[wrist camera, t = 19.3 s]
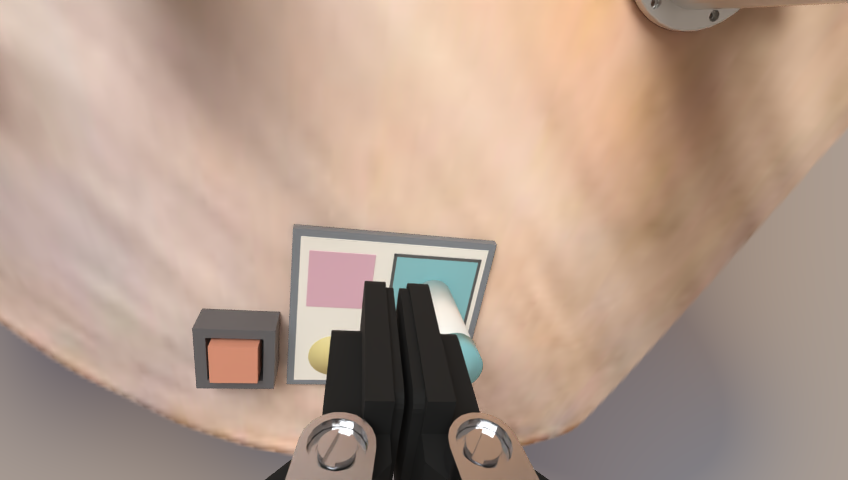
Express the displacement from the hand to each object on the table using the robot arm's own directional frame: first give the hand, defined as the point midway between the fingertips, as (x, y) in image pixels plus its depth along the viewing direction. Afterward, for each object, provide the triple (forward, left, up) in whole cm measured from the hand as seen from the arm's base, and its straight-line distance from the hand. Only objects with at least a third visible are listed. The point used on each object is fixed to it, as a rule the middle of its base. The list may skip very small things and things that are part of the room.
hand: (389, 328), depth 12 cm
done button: (+9, +23, -26) cm, 36 cm away
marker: (-9, +16, -26) cm, 32 cm away
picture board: (-5, +19, -27) cm, 33 cm away
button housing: (+9, +23, -27) cm, 37 cm away
